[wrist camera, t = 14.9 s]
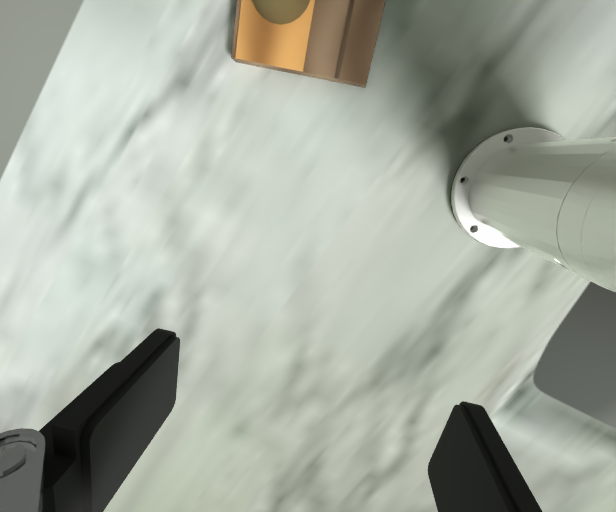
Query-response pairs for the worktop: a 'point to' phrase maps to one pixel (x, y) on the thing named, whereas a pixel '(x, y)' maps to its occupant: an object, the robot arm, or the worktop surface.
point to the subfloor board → (312, 40)
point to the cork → (281, 10)
